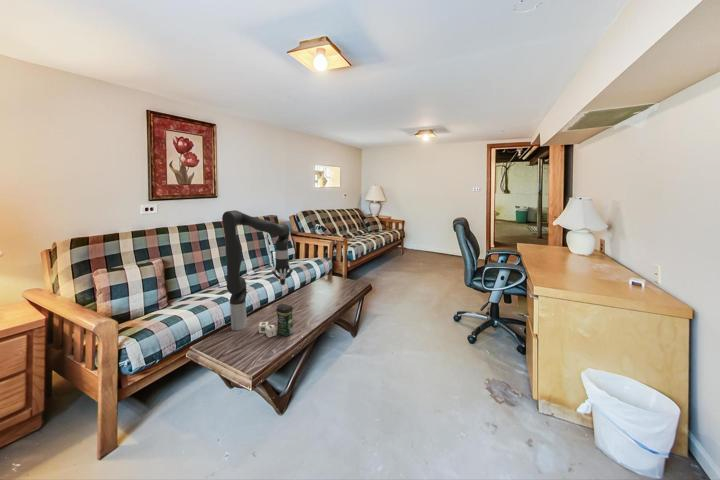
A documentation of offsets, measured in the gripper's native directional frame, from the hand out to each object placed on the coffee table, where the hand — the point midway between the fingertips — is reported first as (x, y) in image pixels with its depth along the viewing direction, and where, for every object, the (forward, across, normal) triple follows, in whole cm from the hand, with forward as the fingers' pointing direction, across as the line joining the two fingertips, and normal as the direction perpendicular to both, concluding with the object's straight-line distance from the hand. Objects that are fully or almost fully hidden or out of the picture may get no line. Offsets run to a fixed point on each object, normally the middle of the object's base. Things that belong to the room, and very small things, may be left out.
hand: (282, 284), depth 177 cm
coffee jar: (+31, +1, -2) cm, 31 cm away
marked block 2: (+31, -8, 0) cm, 32 cm away
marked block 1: (+31, -11, +6) cm, 34 cm away
